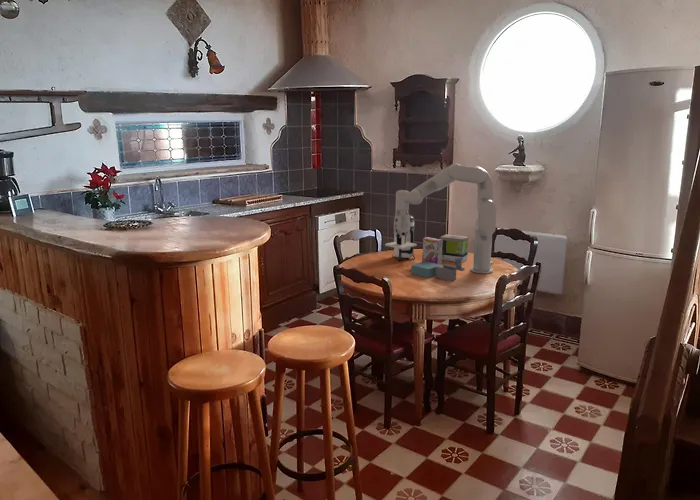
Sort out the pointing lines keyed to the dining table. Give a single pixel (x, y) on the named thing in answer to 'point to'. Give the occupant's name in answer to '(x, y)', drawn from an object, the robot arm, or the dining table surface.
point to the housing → (433, 271)
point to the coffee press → (409, 238)
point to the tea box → (454, 247)
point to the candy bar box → (432, 250)
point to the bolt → (458, 265)
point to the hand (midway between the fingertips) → (401, 243)
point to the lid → (403, 245)
